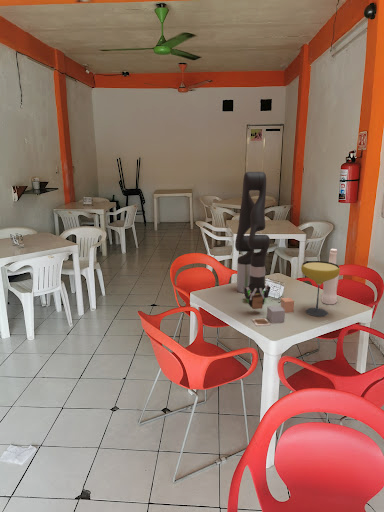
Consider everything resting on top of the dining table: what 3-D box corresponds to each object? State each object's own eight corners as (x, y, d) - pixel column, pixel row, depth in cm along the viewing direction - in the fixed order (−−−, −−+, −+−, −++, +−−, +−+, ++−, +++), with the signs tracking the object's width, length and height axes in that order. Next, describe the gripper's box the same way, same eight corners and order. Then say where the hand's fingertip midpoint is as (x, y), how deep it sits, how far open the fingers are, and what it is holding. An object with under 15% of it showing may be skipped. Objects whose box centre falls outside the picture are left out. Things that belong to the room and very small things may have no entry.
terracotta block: (280, 309, 203) (281, 298, 202) (289, 308, 204) (290, 297, 203) (284, 312, 199) (284, 301, 197) (293, 312, 199) (294, 301, 198)
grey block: (266, 317, 193) (267, 306, 191) (279, 316, 194) (279, 305, 192) (271, 323, 187) (272, 311, 185) (284, 322, 188) (285, 310, 186)
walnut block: (249, 305, 199) (250, 294, 198) (259, 304, 200) (259, 293, 199) (252, 309, 195) (253, 298, 193) (262, 308, 195) (262, 297, 194)
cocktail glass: (302, 319, 190) (306, 270, 184) (295, 305, 208) (298, 260, 202) (340, 320, 189) (345, 271, 183) (329, 306, 207) (333, 260, 200)
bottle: (317, 301, 214) (322, 248, 206) (328, 298, 217) (333, 246, 210) (329, 306, 207) (333, 251, 199) (339, 303, 210) (345, 249, 203)
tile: (251, 320, 190) (252, 318, 190) (265, 319, 191) (265, 317, 191) (256, 326, 183) (256, 324, 183) (270, 325, 184) (270, 323, 184)
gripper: (268, 270, 197) (267, 302, 202) (241, 272, 195) (240, 303, 200) (273, 275, 190) (272, 307, 195) (245, 277, 188) (244, 309, 193)
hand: (256, 305), depth 197 cm, fingers closed on walnut block, 5 cm apart
